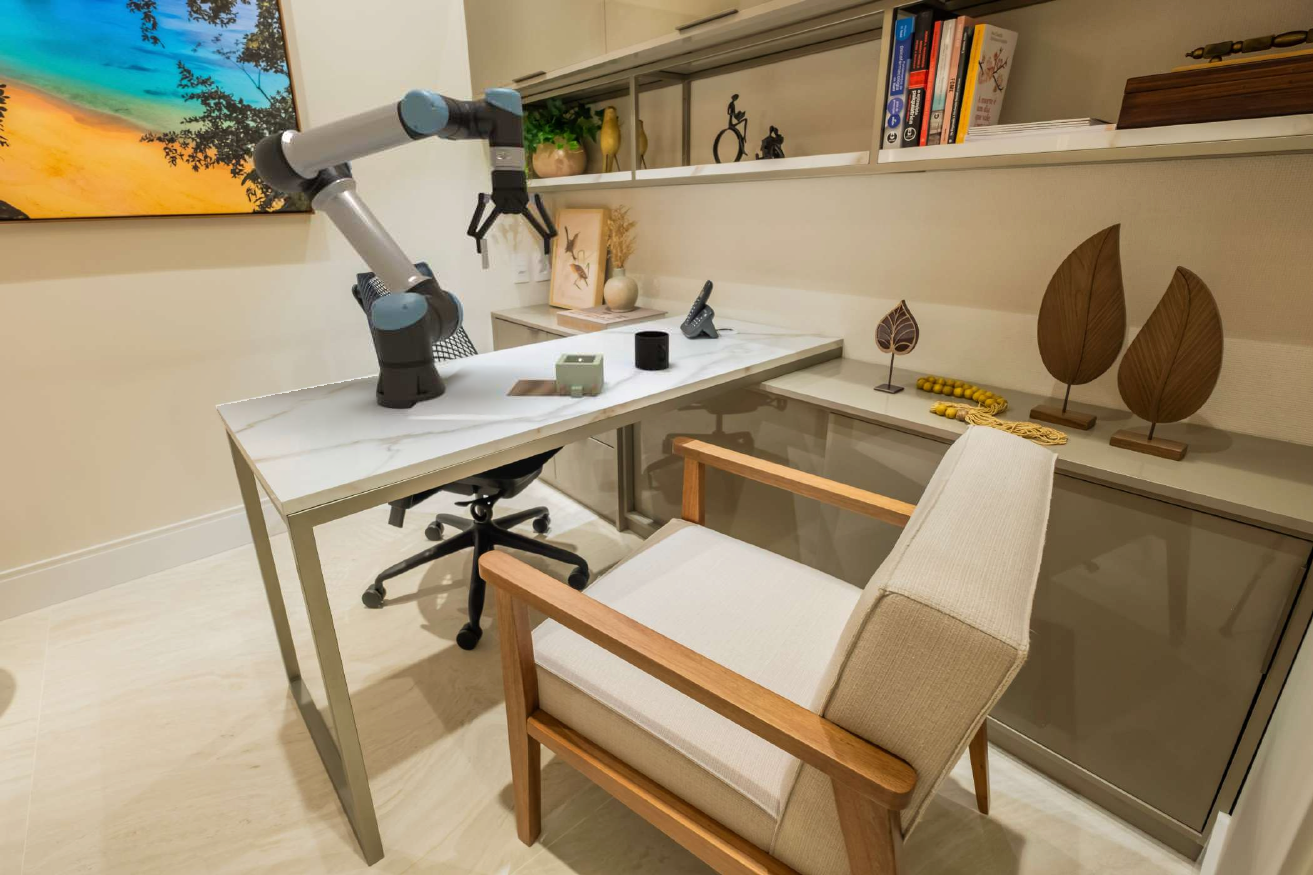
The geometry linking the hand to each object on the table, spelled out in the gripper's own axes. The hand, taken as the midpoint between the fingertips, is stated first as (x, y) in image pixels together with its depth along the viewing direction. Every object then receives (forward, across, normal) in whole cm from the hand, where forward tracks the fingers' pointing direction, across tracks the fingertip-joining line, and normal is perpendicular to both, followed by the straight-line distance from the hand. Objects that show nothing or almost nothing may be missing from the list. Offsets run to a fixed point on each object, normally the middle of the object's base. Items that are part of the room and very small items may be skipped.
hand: (515, 269), depth 145 cm
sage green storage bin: (+27, +15, -5) cm, 31 cm away
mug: (+28, +32, +20) cm, 47 cm away
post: (+27, +15, -4) cm, 31 cm away
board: (+28, +9, -4) cm, 30 cm away
